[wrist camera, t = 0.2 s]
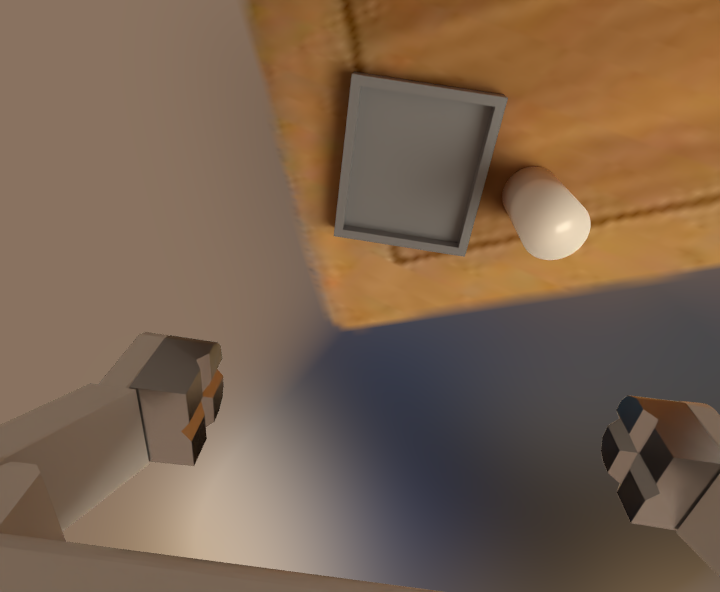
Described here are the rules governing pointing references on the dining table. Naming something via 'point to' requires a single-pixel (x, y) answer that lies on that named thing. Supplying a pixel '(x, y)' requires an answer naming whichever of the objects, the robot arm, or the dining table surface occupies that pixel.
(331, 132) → the dining table surface
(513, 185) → the cream capsule shape
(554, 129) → the dining table surface
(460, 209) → the serving tray
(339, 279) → the dining table surface
